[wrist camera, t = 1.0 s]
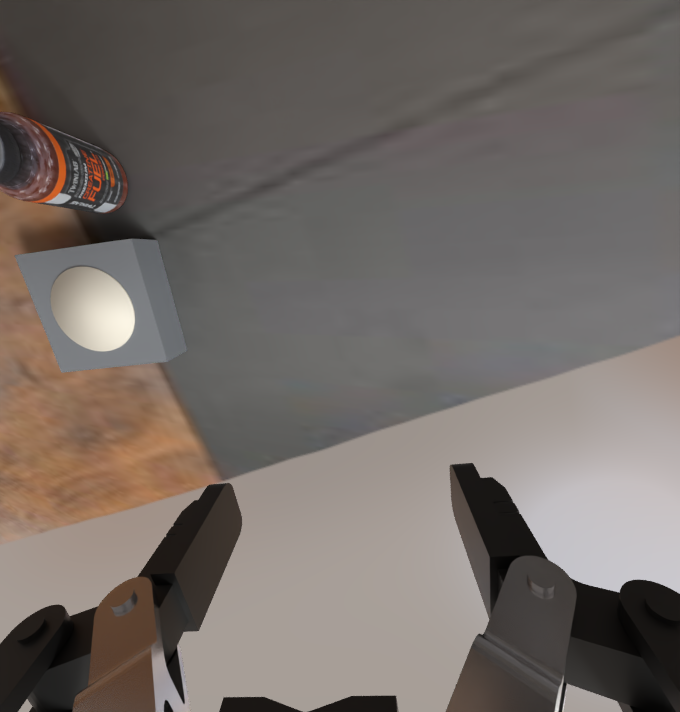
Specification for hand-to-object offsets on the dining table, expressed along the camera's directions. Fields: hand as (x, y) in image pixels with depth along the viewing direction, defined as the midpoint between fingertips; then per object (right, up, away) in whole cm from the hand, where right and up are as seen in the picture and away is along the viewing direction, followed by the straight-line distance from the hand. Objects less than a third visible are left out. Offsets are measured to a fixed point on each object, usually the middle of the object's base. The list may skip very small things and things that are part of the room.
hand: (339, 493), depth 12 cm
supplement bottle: (-24, +22, +21) cm, 39 cm away
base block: (-24, +11, +24) cm, 36 cm away
